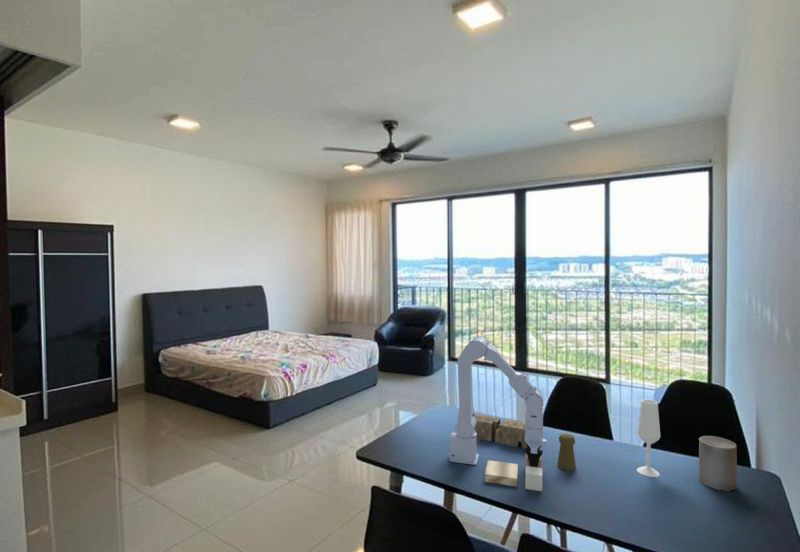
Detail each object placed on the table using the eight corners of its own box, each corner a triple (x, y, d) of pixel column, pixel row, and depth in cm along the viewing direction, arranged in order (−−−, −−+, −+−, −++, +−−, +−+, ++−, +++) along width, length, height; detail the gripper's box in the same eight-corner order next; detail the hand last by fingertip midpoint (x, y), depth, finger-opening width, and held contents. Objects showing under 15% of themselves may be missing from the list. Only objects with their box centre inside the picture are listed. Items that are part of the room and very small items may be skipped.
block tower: (536, 445, 165) (465, 429, 179) (537, 424, 165) (466, 409, 179) (533, 453, 159) (459, 435, 172) (534, 431, 158) (460, 415, 172)
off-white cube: (525, 488, 132) (525, 473, 131) (525, 481, 136) (525, 465, 136) (542, 491, 130) (542, 475, 130) (541, 483, 135) (542, 468, 135)
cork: (577, 471, 143) (578, 439, 142) (558, 469, 144) (559, 437, 144) (574, 463, 149) (574, 432, 148) (555, 461, 150) (556, 430, 150)
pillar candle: (729, 479, 138) (729, 433, 138) (742, 494, 129) (742, 445, 128) (694, 474, 141) (694, 430, 141) (704, 489, 132) (704, 441, 132)
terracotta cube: (525, 472, 142) (525, 457, 142) (525, 465, 147) (526, 451, 147) (541, 474, 141) (541, 459, 141) (540, 467, 145) (541, 453, 145)
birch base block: (484, 483, 136) (485, 473, 136) (487, 468, 145) (487, 460, 145) (517, 488, 133) (517, 478, 133) (517, 472, 142) (517, 464, 142)
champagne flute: (658, 469, 144) (659, 400, 143) (661, 478, 138) (662, 406, 137) (635, 465, 147) (637, 397, 146) (637, 474, 141) (638, 403, 140)
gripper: (547, 435, 135) (546, 477, 136) (545, 419, 149) (545, 457, 149) (524, 433, 137) (523, 474, 138) (524, 417, 151) (524, 455, 152)
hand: (533, 465), depth 144 cm, fingers closed on terracotta cube, 5 cm apart
